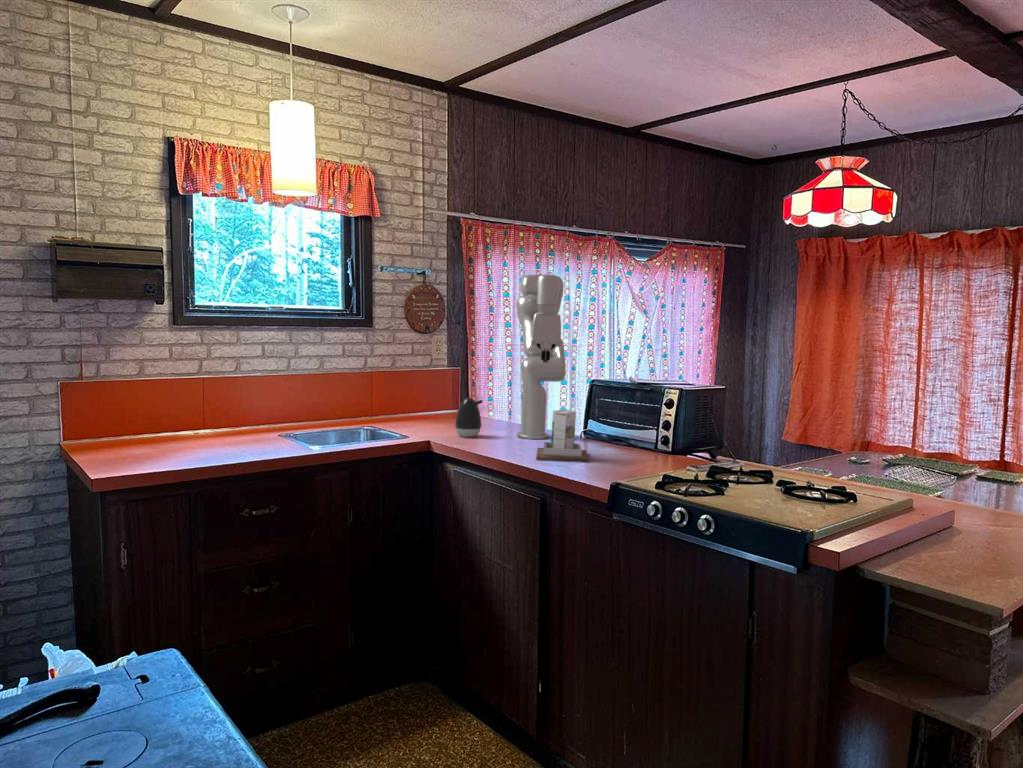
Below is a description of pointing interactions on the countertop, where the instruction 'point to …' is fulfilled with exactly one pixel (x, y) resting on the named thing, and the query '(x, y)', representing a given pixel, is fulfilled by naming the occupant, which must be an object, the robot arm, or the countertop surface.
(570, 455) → the tray
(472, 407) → the pump dispenser
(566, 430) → the syrup box
